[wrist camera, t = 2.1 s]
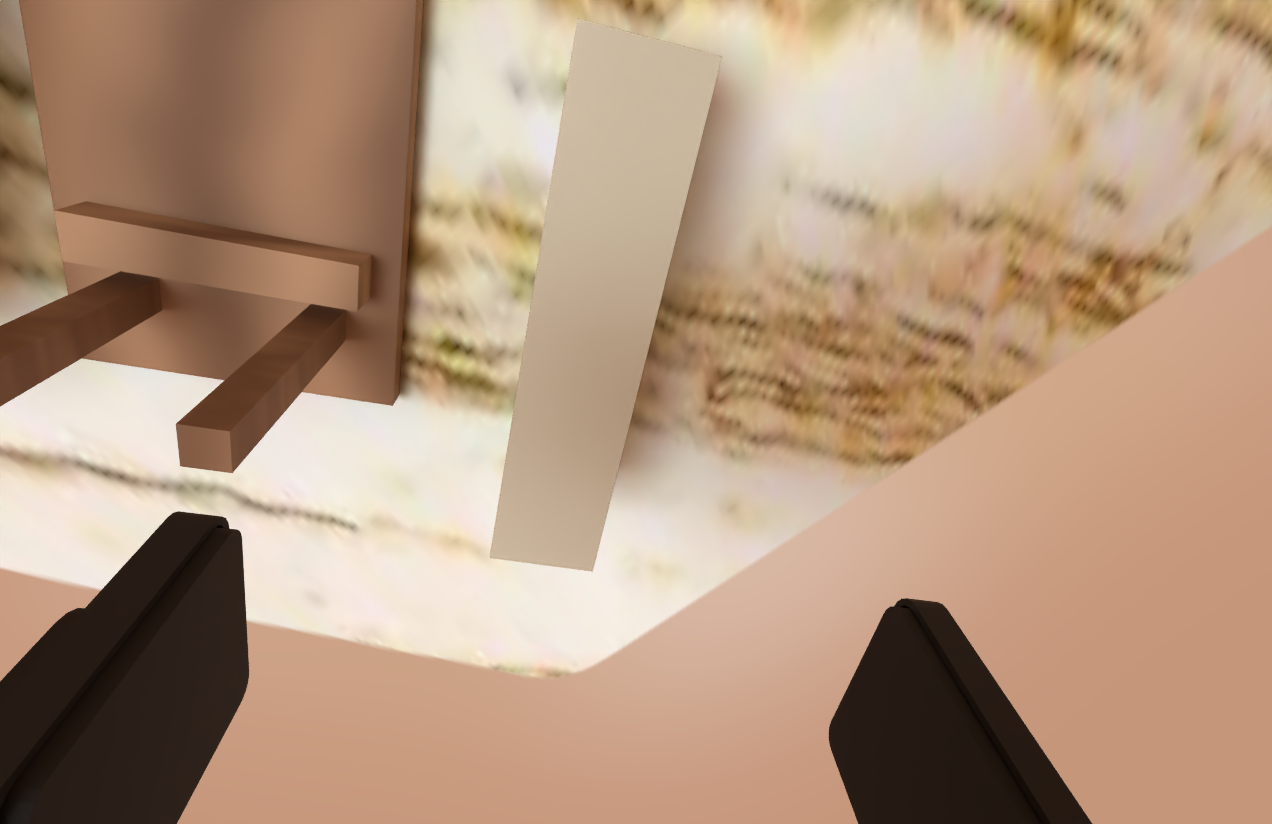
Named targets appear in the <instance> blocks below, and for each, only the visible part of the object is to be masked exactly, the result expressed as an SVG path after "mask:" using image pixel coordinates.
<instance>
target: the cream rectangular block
mask: <svg viewBox="0 0 1272 824" xmlns="http://www.w3.org/2000/svg"><path fill="white" fill-rule="evenodd" d="M721 59H722V56H718V55H714V54H710V53H706V52H703V51H699V50H695V49H691V48H688V47H684V46H680V45H676V44H672V43H669V42H665V41H661V40H657V39H653V38H650V37H646V36H642V35H638V34H634V33H631V32H627V31H623V30H619V29H615V28H612V27H608V26H604V25H600V24H596V23H593V22H589V21H585V20H581V19H577V25H576V31H575V38H574V44H573V50H572V56H571V62H570V68H569V74H568V80H567V87H566V93H565V99H564V105H563V111H562V117H561V123H560V129H559V136H558V142H557V148H556V154H555V160H554V166H553V172H552V178H551V185H550V191H549V197H548V203H547V209H546V215H545V221H544V227H543V234H542V240H541V246H540V252H539V258H538V264H537V270H536V276H535V283H534V289H533V295H532V301H531V307H530V313H529V319H528V325H527V331H526V338H525V344H524V350H523V356H522V362H521V368H520V374H519V380H518V387H517V393H516V399H515V405H514V411H513V417H512V423H511V429H510V436H509V442H508V448H507V454H506V460H505V466H504V472H503V478H502V485H501V491H500V497H499V503H498V509H497V515H496V521H495V527H494V534H493V540H492V546H491V552H490V558H494V559H502V560H509V561H517V562H525V563H532V564H540V565H547V566H555V567H563V568H570V569H578V570H585V571H593V568H594V564H595V560H596V556H597V552H598V548H599V544H600V540H601V536H602V532H603V528H604V524H605V520H606V516H607V512H608V508H609V504H610V500H611V496H612V492H613V488H614V484H615V480H616V476H617V472H618V468H619V464H620V461H621V457H622V453H623V449H624V445H625V441H626V437H627V433H628V429H629V425H630V421H631V417H632V413H633V409H634V405H635V401H636V397H637V393H638V389H639V385H640V381H641V377H642V373H643V369H644V365H645V361H646V357H647V353H648V349H649V345H650V341H651V337H652V333H653V329H654V325H655V321H656V317H657V313H658V309H659V306H660V302H661V298H662V294H663V290H664V286H665V282H666V278H667V274H668V270H669V266H670V262H671V258H672V254H673V250H674V246H675V242H676V238H677V234H678V230H679V226H680V222H681V218H682V214H683V210H684V206H685V202H686V198H687V194H688V190H689V186H690V182H691V178H692V174H693V170H694V166H695V162H696V158H697V155H698V151H699V147H700V143H701V139H702V135H703V131H704V127H705V123H706V119H707V115H708V111H709V107H710V103H711V99H712V95H713V91H714V87H715V83H716V79H717V75H718V71H719V67H720V63H721Z"/></svg>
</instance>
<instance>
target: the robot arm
mask: <svg viewBox="0 0 1272 824" xmlns="http://www.w3.org/2000/svg"><path fill="white" fill-rule="evenodd" d="M248 678H249V662H248V644H247V624H246V606H245V587H244V568H243V550H242V536H241V533H240V531H239V530H235V529H229V524H228V521H227V520H226V518H224V517H220V516H212V515H203V514H195V513H187V512H175V513H173V514H171V515H170V516H169V517H168V518H167V519H166V520H165V521H164V522H163V523H162V524H161V525H160V526H159V528H158V529H157V530H156V531H155V532H154V533H153V534H152V535H151V536H150V537H149V539H148V540H147V541H146V542H145V543H144V544H143V545H142V546H141V547H140V548H139V550H138V551H137V552H136V553H135V554H134V555H133V556H132V557H131V558H130V559H129V561H128V562H127V563H126V564H125V565H124V566H123V567H122V568H121V569H120V570H119V572H118V573H117V574H116V575H115V576H114V577H113V578H112V579H111V580H110V581H109V583H108V584H107V585H106V586H105V587H104V588H103V589H102V590H101V591H100V592H99V594H98V595H97V596H96V597H95V598H94V599H93V600H92V601H91V602H90V603H89V605H88V606H87V607H86V608H77V609H75V610H73V611H70V612H68V613H66V614H65V615H64V616H63V617H62V618H61V619H59V620H58V621H57V622H56V623H55V624H54V625H53V626H52V627H51V628H50V629H49V630H48V631H47V632H46V634H45V635H44V636H43V637H42V638H41V639H40V640H39V641H38V642H37V643H36V644H35V645H34V646H33V647H32V648H31V649H30V650H29V652H28V653H27V654H26V655H25V656H24V657H23V658H22V659H21V660H20V661H19V662H18V663H17V664H16V665H15V666H14V668H13V669H12V670H11V671H10V672H9V673H8V674H7V675H6V676H5V677H4V678H3V679H2V680H1V682H0V824H177V822H178V820H179V818H180V816H181V815H182V813H183V811H184V809H185V807H186V805H187V803H188V801H189V800H190V798H191V796H192V794H193V792H194V790H195V788H196V786H197V785H198V783H199V781H200V779H201V777H202V775H203V773H204V771H205V769H206V768H207V766H208V764H209V762H210V760H211V758H212V756H213V754H214V752H215V751H216V749H217V747H218V745H219V743H220V741H221V739H222V737H223V736H224V734H225V732H226V730H227V728H228V726H229V724H230V722H231V720H232V719H233V717H234V715H235V713H236V711H237V709H238V707H239V705H240V703H241V701H242V699H243V697H244V694H245V691H246V687H247V684H248ZM829 743H830V747H831V750H832V753H833V756H834V759H835V761H836V764H837V767H838V770H839V772H840V775H841V778H842V780H843V783H844V786H845V789H846V791H847V794H848V797H849V799H850V802H851V805H852V808H853V810H854V813H855V816H856V819H857V821H858V824H1092V823H1091V821H1090V820H1089V818H1088V817H1087V815H1086V814H1085V813H1084V811H1083V809H1082V808H1081V806H1080V805H1079V804H1078V802H1077V801H1076V799H1075V798H1074V796H1073V795H1072V793H1071V792H1070V791H1069V789H1068V787H1067V786H1066V784H1065V783H1064V781H1063V780H1062V778H1061V777H1060V775H1059V774H1058V772H1057V771H1056V770H1055V768H1054V767H1053V765H1052V764H1051V762H1050V761H1049V759H1048V758H1047V756H1046V755H1045V753H1044V752H1043V750H1042V749H1041V748H1040V746H1039V744H1038V743H1037V741H1036V740H1035V738H1034V737H1033V735H1032V734H1031V733H1030V731H1029V730H1028V728H1027V727H1026V725H1025V724H1024V722H1023V721H1022V719H1021V718H1020V716H1019V715H1018V713H1017V712H1016V710H1015V709H1014V707H1013V706H1012V704H1011V703H1010V701H1009V700H1008V699H1007V697H1006V696H1005V694H1004V693H1003V691H1002V690H1001V688H1000V687H999V685H998V684H997V682H996V681H995V679H994V678H993V676H992V675H991V673H990V672H989V670H988V669H987V667H986V666H985V664H984V663H983V661H982V660H981V659H980V657H979V656H978V654H977V653H976V651H975V650H974V648H973V647H972V645H971V644H970V642H969V641H968V639H967V638H966V636H965V635H964V634H963V632H962V630H961V629H960V628H959V626H958V625H957V623H956V622H955V620H954V619H953V617H952V616H951V614H950V613H949V611H948V610H947V609H946V608H945V607H944V606H943V604H940V603H938V602H931V601H924V600H915V599H901V600H899V601H898V602H897V603H896V605H895V606H894V607H889V608H888V609H887V610H886V611H885V613H884V614H883V617H882V618H881V621H880V623H879V625H878V627H877V629H876V631H875V633H874V635H873V637H872V639H871V641H870V643H869V645H868V647H867V649H866V651H865V653H864V655H863V657H862V659H861V662H860V664H859V666H858V668H857V670H856V672H855V674H854V676H853V678H852V680H851V682H850V684H849V686H848V688H847V690H846V692H845V694H844V696H843V698H842V700H841V702H840V705H839V707H838V709H837V711H836V713H835V715H834V717H833V719H832V721H831V724H830V727H829Z"/></svg>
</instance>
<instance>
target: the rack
mask: <svg viewBox="0 0 1272 824" xmlns="http://www.w3.org/2000/svg"><path fill="white" fill-rule="evenodd" d="M423 1H424V0H19V3H20V9H21V15H22V21H23V27H24V33H25V39H26V45H27V51H28V57H29V63H30V69H31V75H32V81H33V87H34V93H35V99H36V105H37V111H38V117H39V123H40V129H41V134H42V140H43V146H44V152H45V158H46V164H47V170H48V176H49V182H50V188H51V194H52V200H53V206H54V215H55V221H56V227H57V233H58V239H59V245H60V251H61V257H62V261H63V266H64V272H65V278H66V284H67V290H68V295H67V296H65V297H63V298H61V299H58V300H56V301H54V302H52V303H50V304H47V305H45V306H43V307H41V308H39V309H36V310H34V311H32V312H30V313H28V314H26V315H23V316H21V317H19V318H17V319H15V320H12V321H10V322H8V323H6V324H4V325H1V326H0V406H2V405H3V404H5V403H7V402H8V401H10V400H12V399H14V398H15V397H17V396H19V395H20V394H22V393H24V392H25V391H27V390H29V389H30V388H32V387H34V386H35V385H37V384H39V383H41V382H42V381H44V380H46V379H47V378H49V377H51V376H52V375H54V374H56V373H57V372H59V371H61V370H62V369H64V368H66V367H68V366H69V365H71V364H73V363H74V362H76V361H78V360H79V359H81V358H83V359H89V360H96V361H102V362H109V363H116V364H122V365H129V366H135V367H142V368H148V369H155V370H162V371H168V372H175V373H181V374H188V375H194V376H201V377H208V378H214V379H221V380H225V381H224V382H223V383H221V384H220V385H219V386H218V387H217V388H216V389H215V390H214V391H212V392H211V393H210V394H209V395H208V396H207V397H206V398H205V399H203V400H202V401H201V402H200V403H199V404H198V405H197V406H196V407H194V408H193V409H192V410H191V411H190V412H189V413H188V414H187V415H185V416H184V417H183V418H182V419H181V420H180V421H179V422H178V423H176V430H177V439H178V449H179V459H180V466H183V467H190V468H198V469H205V470H213V471H221V472H228V473H233V472H234V470H235V469H236V468H237V467H238V466H239V465H240V463H241V462H242V461H243V460H244V459H245V458H246V456H247V455H248V454H249V453H250V452H251V451H252V449H253V448H254V447H255V446H256V445H257V444H258V442H259V441H260V440H261V439H262V438H263V437H264V435H265V434H266V433H267V432H268V431H269V429H270V428H271V427H272V426H273V425H274V424H275V422H276V421H277V420H278V419H279V418H280V417H281V415H282V414H283V413H284V412H285V411H286V410H287V408H288V407H289V406H290V405H291V404H292V403H293V401H294V400H295V399H296V398H297V397H298V396H299V394H300V393H301V392H306V393H313V394H319V395H326V396H333V397H339V398H346V399H352V400H359V401H365V402H372V403H379V404H385V405H392V406H393V404H394V403H395V401H396V399H397V397H398V395H399V388H400V372H401V356H402V340H403V324H404V308H405V292H406V275H407V259H408V243H409V227H410V211H411V195H412V179H413V162H414V146H415V130H416V114H417V98H418V82H419V66H420V49H421V33H422V17H423Z"/></svg>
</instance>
